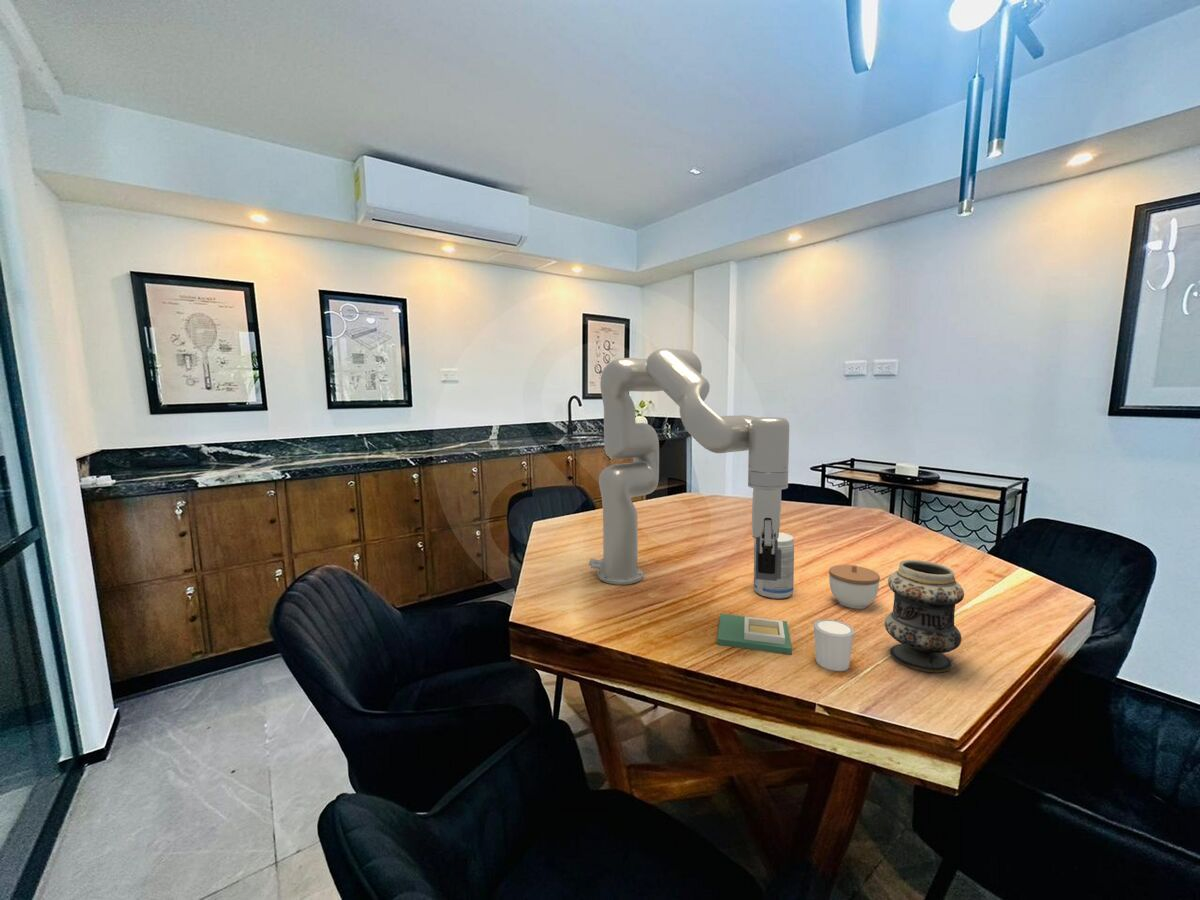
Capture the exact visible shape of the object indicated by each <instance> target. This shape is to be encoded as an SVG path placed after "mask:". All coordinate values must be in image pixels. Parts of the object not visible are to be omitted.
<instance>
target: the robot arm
mask: <svg viewBox="0 0 1200 900" xmlns="http://www.w3.org/2000/svg"><path fill="white" fill-rule="evenodd" d="M702 366H703V365H702V362H701V359H700V358H699V356H698V355H697V354H696V353H695V352H692V351H690V350H686V349H674V348H659V349H657V350H655V351H653V352H652V353H650V355H648V357H647V358H638V357H636V358H635V357H634V358H633V357H623V358H617V359H614V360H611V361H610V362H607V364H606V366H605V367H604V369H603V370H602V373H601V377H600V383H599V384H600V392H601V393H600V394H601V399H602V404H603V443H604V444H603V445H604V451H605V454H606V455H607V456H608V457H609V458H611V459H613V460H624V459H633V461H632V462H624V463H616V464H615V463H614V464H612V465H609V466H607V467H605V468H603V469H602V471H601V472H600V474H599V475H598V476H599V477H598V485H599V486H598V487H599V491H600V496H601V503H602V504H601V505H602V530H603V531H602V544H603V545H602V546H603V550H602V551H603V552H602V553H603V558H600V559H596V558H595V559H594V558H590V559H589V561H588V564H589V565H588V566H589V567H590V568H591V569H598V572H597V578H598V579H599V580H600V581H602V582H604V583H607V584H610V585H611V584H612V585H620V586H623V585H625V586H626V585H631V584H635V583H638V582H640V581H641V580H643V578H644V572H643V570H641V569H640V568H639V567H638V565H639V564H638V563H639V562H638V561H639V559H638V557H639V555H638V554H639V553H638V550H639V548H638V547H639V544H638V543H639V540H638V537H639V536H638V535H639V534H638V532H639V531H638V530H639V529H638V528H639V527H638V525H639V523H638V511H637V508H636V507H635V505H634V503H633V501H632V498H634V497H635V498H636V497H640V496H641V497H642V496H647V495H650V494H651V493H653V492H654V491H655V490H656V489H657V488H658V485H659V478H660V476H659V475H660V442H659V436H658V433H657V432H656V429H655V428H654V427H653V426H652V425H651V424H648V423H644V422H638V423H637V422H636V407H635V404H634V401H633V398H632V397H631V395H630V394H629V393H630V392H645V393H646V392H664V393H665V394H666V396H668V397H669V398H670V399H671V400H672V401H673V402H674V403H675V404H676V405H677V406H678V407H679V415H680V420H681V422H682V425H683V428H684V429H685V431H686V432H688V434H689V435H690V436H691V437H692V438H693V439H694V440H695V441H696V442H697V443H698V444H700V446H702V447H703V448H704V449H705V450H707V451H709V452H710V453H714V454H725V453H726V454H727V453H736V452H745V451H748V458H747V459H748V463H747V464H748V465H747V469H748V470H747V486H748V487H749V488H751V489H752V501H751V502H752V503H751V504H752V505H751V507H752V508H751V510H752V511H751V537H753V539H756V537H759V536H760V538H759V539H760V552H758V572H759V573H767V574H774V573H775V554H774V546H775V540H776V539H778V537H779V532H780V529H781V528H780V527H781V513H782V512H781V511H782V509H781V508H782V490H786V489H788V488H789V457H790V456H789V455H790V453H789V451H790V422H789V421H788V420H787V418H784V417H779V416H778V417H777V416H759V417H757V416H753V415H744V414H743V415H742V414H741V415H739V414H738V415H719V414H718V413H716V412H715V411H714V410H713V409H711V408H710V406H708V405H707V404H706V402H704V401H705V400H706V398H707V397H708V395H709V392H710V382H709V381H708V379H707V378H705V377H704V376H703V375H702ZM762 535H764V537H762ZM771 536H772V538H771ZM763 541H764V543H763ZM762 547H763V549H762Z"/></svg>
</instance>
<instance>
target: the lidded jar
mask: <svg viewBox="0 0 1200 900" xmlns="http://www.w3.org/2000/svg"><path fill="white" fill-rule="evenodd" d="M828 573H829V575H828V577H829V578H828V579H829V588H830V592H831V593H832V595H833V596H834V598H835V599H836V600H837V601H838V603H839V604H840V605H842V606H843V607H846V608H850V609H854V610H855V609H856V610H862V609H866V608H867V607H868V606H869V605H870V604H872V603H873V602H874V601H875V599H876V598H877V596H878V593H879V586H880V580H881V576H880V574H879V573H878V572H876V571H875V570H873V569H869V568H867V567H864V566H858V565H856V564H855V565H854V564H851V565H850V564H838V565H832V566H831V567H830V568H829V569H828Z"/></svg>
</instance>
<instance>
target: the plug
mask: <svg viewBox="0 0 1200 900" xmlns="http://www.w3.org/2000/svg"><path fill="white" fill-rule="evenodd" d="M762 537H764V535H762ZM759 538H760V536H759V537H756V560H755V577H756V579H760V580H771V581H777V579H781V547H778V540H777V539H776V540H775V546H774V554H775V573H774V574H767V573H759V572H758V552H760V539H759ZM771 538H772V536H771ZM763 543H764V541H763ZM762 549H763V547H762Z"/></svg>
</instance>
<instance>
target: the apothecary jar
mask: <svg viewBox="0 0 1200 900" xmlns="http://www.w3.org/2000/svg"><path fill="white" fill-rule="evenodd" d="M898 567H899V568H898V570H896V571H894V572H893V573H892V574H890V575H889V576H888V579H887V586H888V588H889V589H890V590H891V591H892V592H893V594H894V595H893V607H892V612H890V613H888V614H887V615H886V616H885V618H884V622H883V623H884V628H885V630H886V632H887V633H888V635H890V636H891V637H892V638H893V639H894V641H897V642H898V643H900V644H896V645H894V646H892V647H891V648H890V650H889V655H890V656H891V657H892V658H893V659H894V661H896V662H898V663H899V664H901V665H903V666H906V667H908V668H910V669H913V670H917V671H921V672H926V673H934V674H940V673H947V672H949V671H951V669H953V663H952V661H951V660H950V659H949V658H948V656H946V655H945V653H950V652H952V651H955V649H958V648H959V647H960V645H961V643H962V635H961V632H960V631H959V629H958V628H957V626H955V612H956V610H955V609H956V605H957V604H959V603H961V602H962V601H963V599H964V598H965V592H964V588H963V587H962V586H961V585H960V584H959V582H957V581H956V577H955V572H954V570H953V569H952V568H950V567H948V566H946V565H942V564H939V563H937V562H936V563H935V562H930V561H927V560H920V559H905V560H902V561H900V563H899V566H898Z"/></svg>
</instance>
